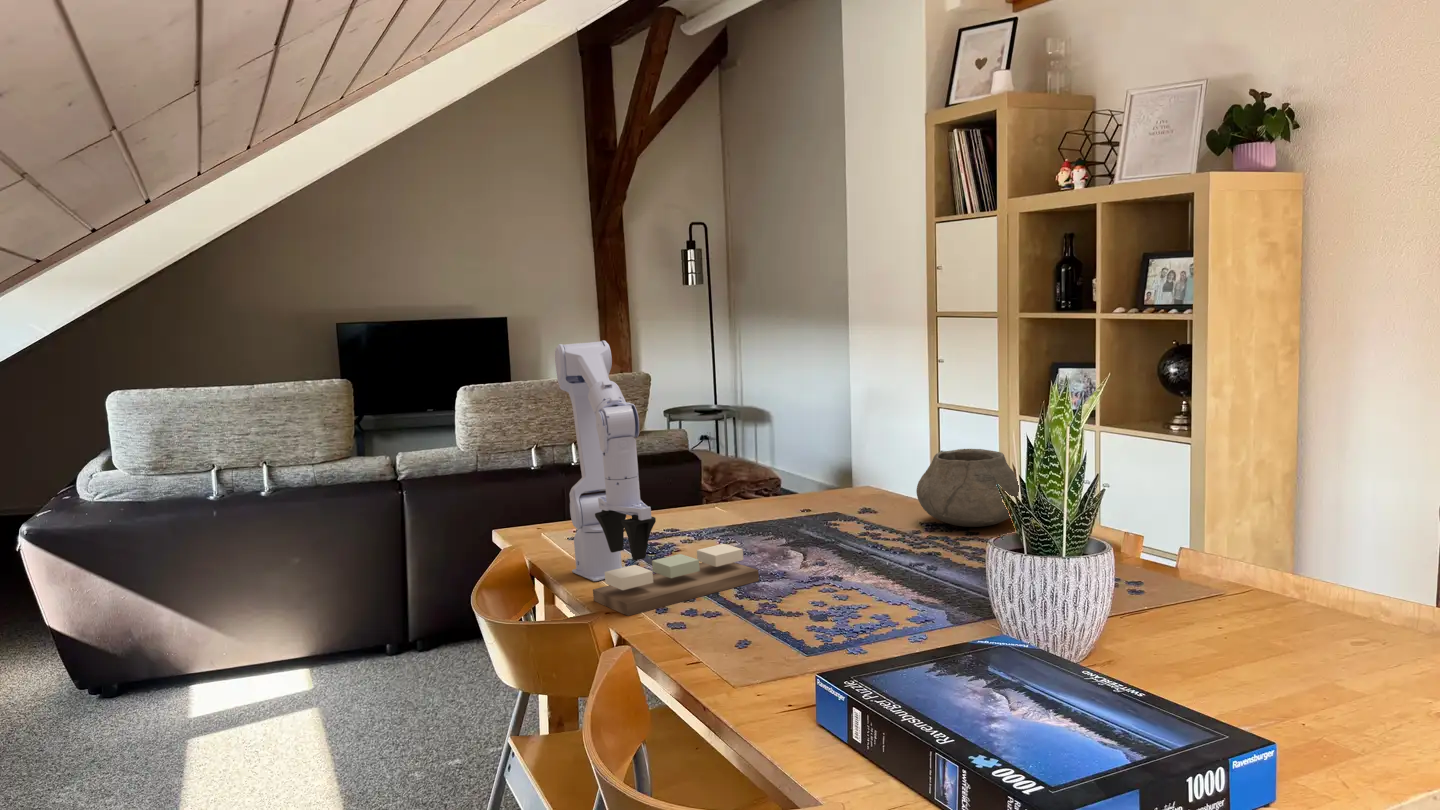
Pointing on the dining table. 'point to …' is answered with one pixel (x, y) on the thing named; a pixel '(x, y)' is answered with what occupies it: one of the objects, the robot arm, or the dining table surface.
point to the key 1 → (628, 577)
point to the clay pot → (967, 487)
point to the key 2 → (720, 555)
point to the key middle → (675, 565)
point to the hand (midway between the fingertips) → (627, 555)
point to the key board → (675, 588)
